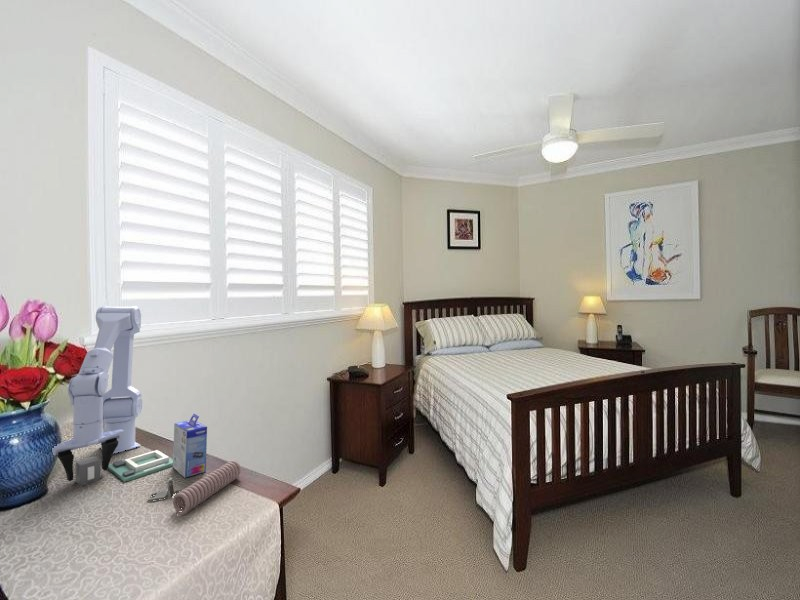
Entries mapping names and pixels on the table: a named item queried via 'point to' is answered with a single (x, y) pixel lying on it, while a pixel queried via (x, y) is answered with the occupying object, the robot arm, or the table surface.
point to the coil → (206, 487)
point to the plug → (87, 470)
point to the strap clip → (164, 492)
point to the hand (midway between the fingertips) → (87, 474)
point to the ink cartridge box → (190, 447)
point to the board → (140, 465)
